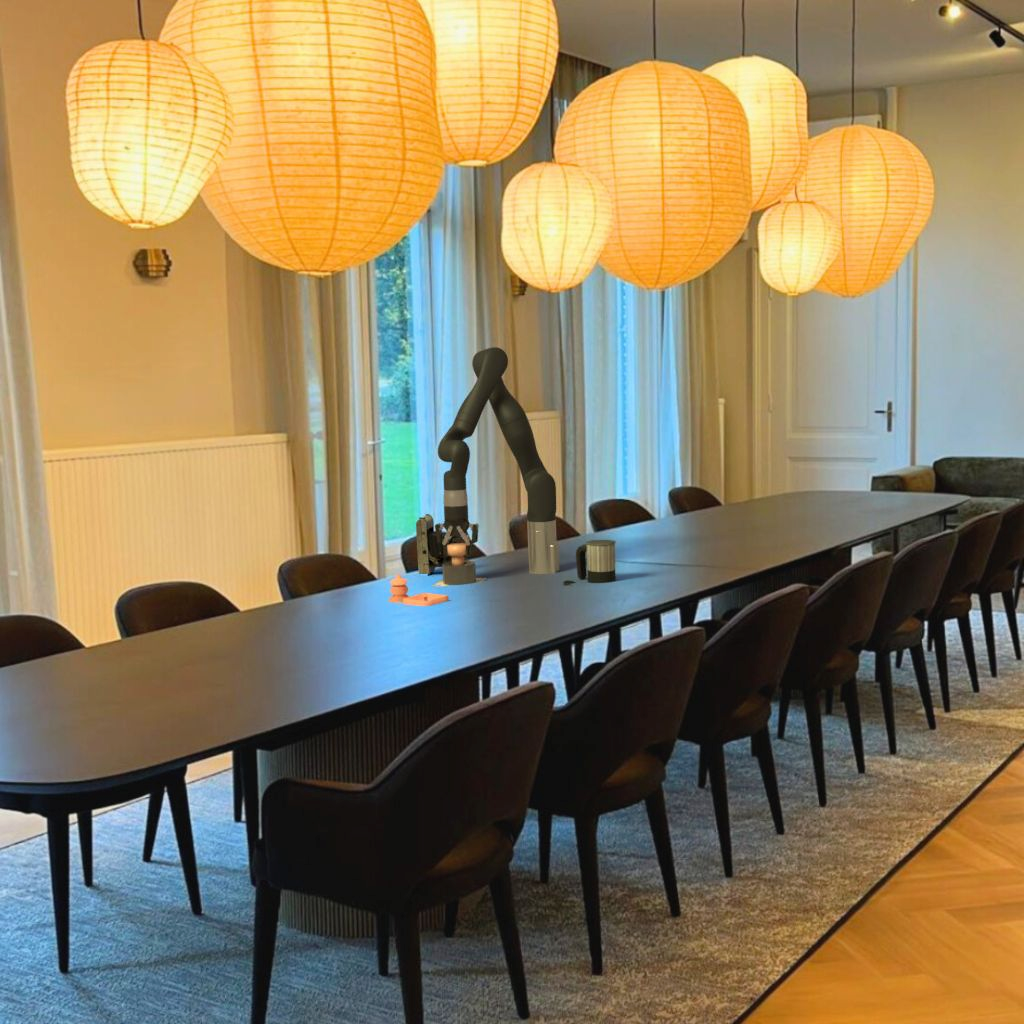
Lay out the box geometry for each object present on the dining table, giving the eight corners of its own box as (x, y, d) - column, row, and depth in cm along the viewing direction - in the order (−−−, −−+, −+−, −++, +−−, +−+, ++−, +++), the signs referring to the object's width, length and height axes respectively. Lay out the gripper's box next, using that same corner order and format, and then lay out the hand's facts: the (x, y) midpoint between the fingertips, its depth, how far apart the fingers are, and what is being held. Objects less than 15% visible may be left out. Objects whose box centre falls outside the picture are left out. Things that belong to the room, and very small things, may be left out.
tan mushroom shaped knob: (471, 568, 416) (470, 543, 415) (465, 571, 410) (463, 546, 408) (452, 567, 417) (451, 542, 416) (445, 571, 411) (444, 546, 410)
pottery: (449, 609, 381) (447, 576, 379) (427, 616, 373) (425, 581, 372) (403, 603, 392) (401, 571, 390) (381, 609, 384) (379, 576, 383)
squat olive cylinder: (479, 579, 417) (478, 560, 416) (469, 585, 408) (469, 566, 407) (449, 578, 420) (448, 560, 419) (439, 584, 411) (438, 565, 410)
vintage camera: (463, 577, 430) (460, 517, 428) (418, 577, 433) (414, 517, 431) (470, 572, 440) (467, 513, 437) (425, 572, 443) (422, 513, 440)
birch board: (487, 582, 419) (487, 578, 419) (474, 591, 405) (474, 586, 405) (445, 582, 423) (445, 577, 422) (431, 590, 409) (431, 586, 409)
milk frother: (622, 587, 403) (620, 539, 401) (602, 597, 389) (600, 548, 387) (579, 585, 409) (577, 538, 407) (558, 595, 395) (556, 546, 393)
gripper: (481, 502, 412) (483, 554, 414) (438, 502, 416) (440, 554, 419) (473, 505, 405) (476, 559, 407) (429, 505, 409) (432, 558, 411)
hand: (457, 556), depth 413 cm, fingers closed on tan mushroom shaped knob, 6 cm apart
